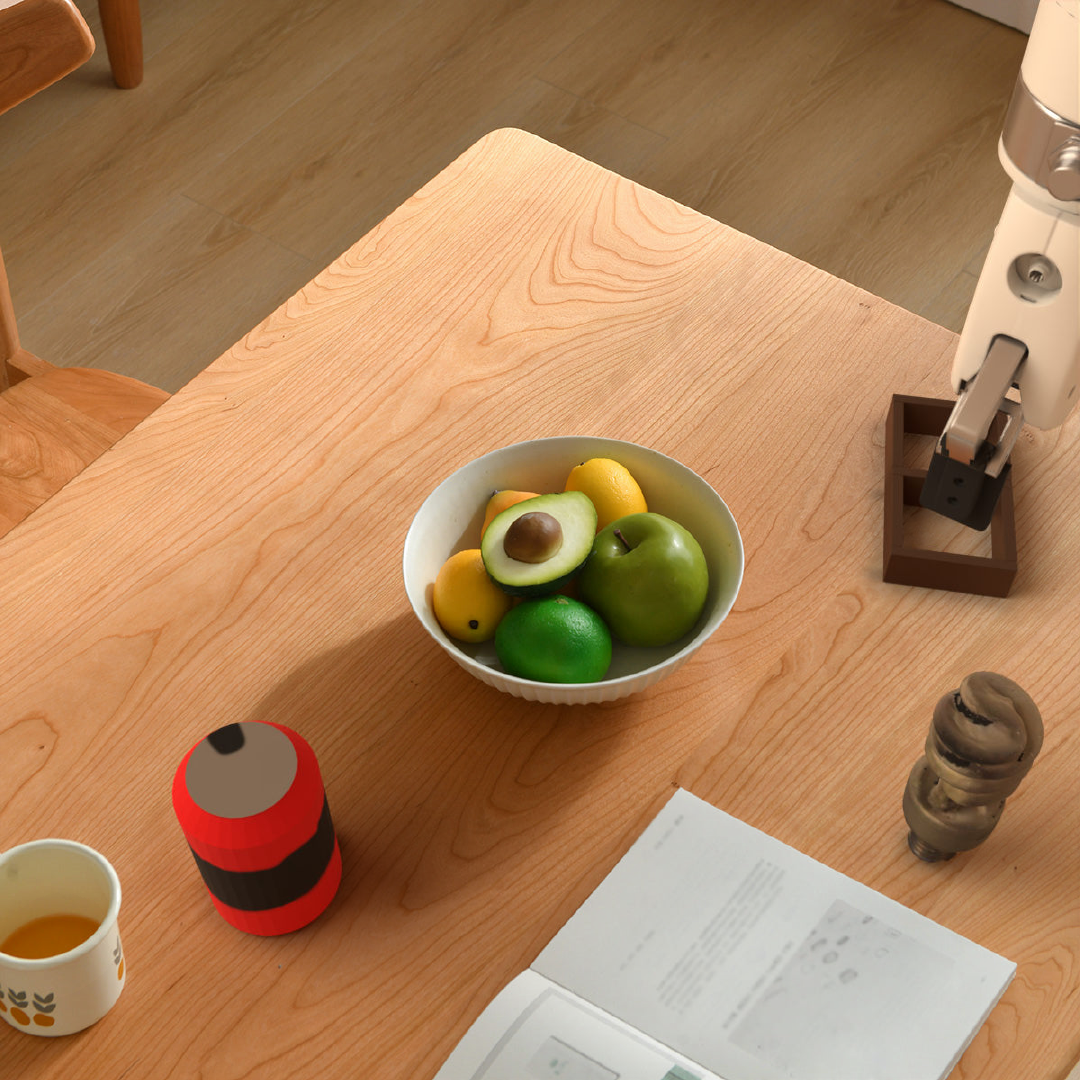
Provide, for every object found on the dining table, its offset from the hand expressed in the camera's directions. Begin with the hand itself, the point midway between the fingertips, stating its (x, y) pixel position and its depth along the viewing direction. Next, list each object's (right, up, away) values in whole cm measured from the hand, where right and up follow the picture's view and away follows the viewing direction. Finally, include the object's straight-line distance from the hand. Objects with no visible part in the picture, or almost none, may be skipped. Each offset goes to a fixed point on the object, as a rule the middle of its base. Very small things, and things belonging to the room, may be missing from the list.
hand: (994, 450), depth 63 cm
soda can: (-36, -24, +15) cm, 46 cm away
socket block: (+7, -2, +33) cm, 34 cm away
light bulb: (+2, -22, +16) cm, 27 cm away
